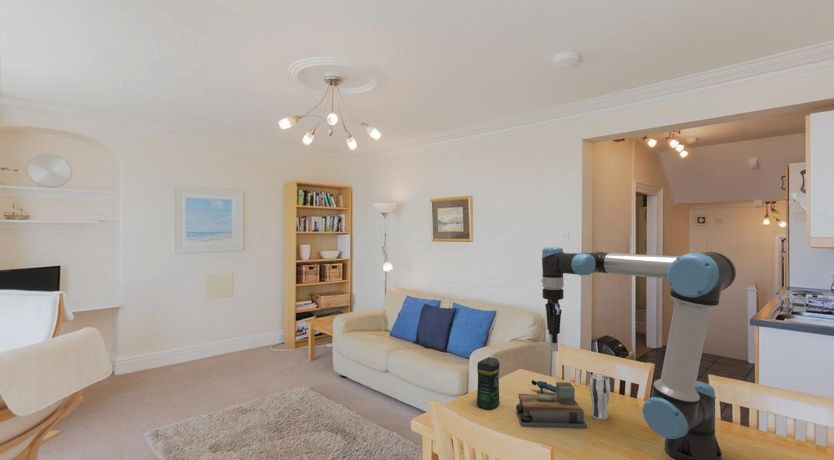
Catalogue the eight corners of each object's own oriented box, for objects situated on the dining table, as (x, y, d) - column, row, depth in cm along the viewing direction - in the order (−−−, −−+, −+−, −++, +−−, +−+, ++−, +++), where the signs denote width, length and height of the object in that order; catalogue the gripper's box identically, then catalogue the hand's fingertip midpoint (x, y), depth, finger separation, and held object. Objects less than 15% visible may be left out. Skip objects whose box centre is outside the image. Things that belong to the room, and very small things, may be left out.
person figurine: (575, 399, 180) (534, 385, 190) (577, 389, 180) (535, 375, 190) (569, 408, 171) (526, 392, 181) (571, 397, 171) (528, 382, 180)
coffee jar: (492, 411, 164) (492, 364, 164) (474, 406, 168) (474, 360, 168) (502, 403, 172) (502, 357, 172) (484, 398, 176) (484, 354, 176)
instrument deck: (581, 412, 150) (581, 391, 150) (524, 410, 151) (524, 390, 151) (571, 399, 162) (571, 379, 162) (518, 397, 163) (518, 378, 163)
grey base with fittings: (587, 428, 149) (587, 413, 149) (521, 426, 151) (521, 411, 151) (576, 413, 162) (576, 399, 162) (515, 411, 163) (515, 397, 163)
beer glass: (589, 418, 158) (589, 378, 158) (590, 411, 164) (590, 372, 164) (609, 422, 154) (609, 381, 154) (610, 414, 161) (610, 375, 161)
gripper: (538, 286, 165) (539, 346, 165) (547, 290, 152) (548, 355, 152) (557, 286, 165) (558, 346, 165) (568, 290, 152) (569, 355, 152)
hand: (553, 350), depth 158 cm, fingers closed
